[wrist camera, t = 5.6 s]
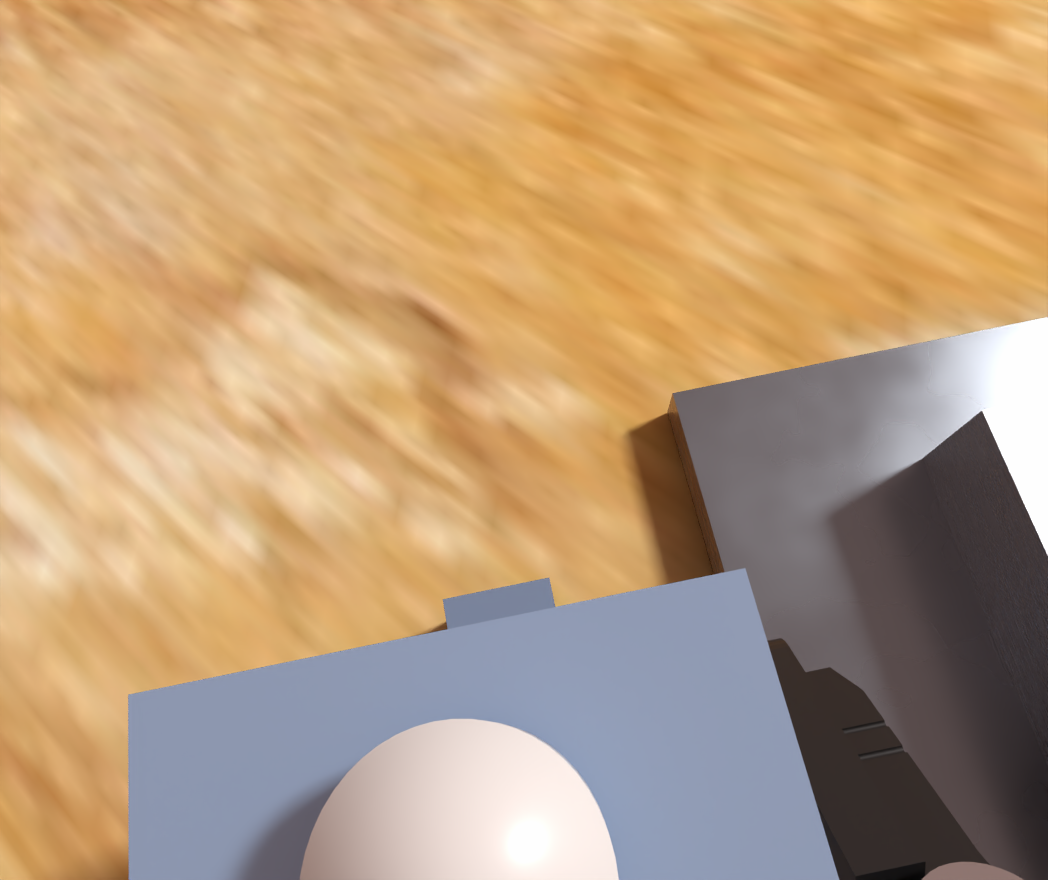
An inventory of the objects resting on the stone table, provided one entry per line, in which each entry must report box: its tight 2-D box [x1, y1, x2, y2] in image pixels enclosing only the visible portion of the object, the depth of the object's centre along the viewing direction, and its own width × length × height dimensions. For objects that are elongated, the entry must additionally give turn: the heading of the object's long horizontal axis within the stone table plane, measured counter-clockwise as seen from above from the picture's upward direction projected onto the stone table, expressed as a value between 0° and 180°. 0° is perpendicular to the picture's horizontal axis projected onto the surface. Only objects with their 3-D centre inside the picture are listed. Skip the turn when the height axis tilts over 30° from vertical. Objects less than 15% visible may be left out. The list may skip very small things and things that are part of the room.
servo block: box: [128, 568, 839, 880], centre depth 10 cm, size 5×7×11 cm
